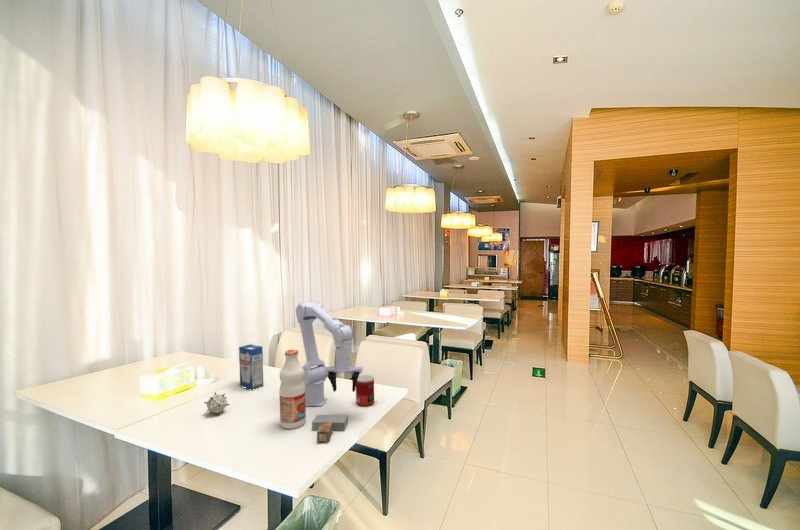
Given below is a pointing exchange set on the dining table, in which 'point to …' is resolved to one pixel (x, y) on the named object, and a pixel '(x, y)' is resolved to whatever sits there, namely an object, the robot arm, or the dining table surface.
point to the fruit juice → (292, 392)
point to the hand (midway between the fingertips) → (344, 390)
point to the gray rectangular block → (337, 421)
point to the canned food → (365, 390)
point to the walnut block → (324, 432)
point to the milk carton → (251, 366)
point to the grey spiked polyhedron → (216, 403)
